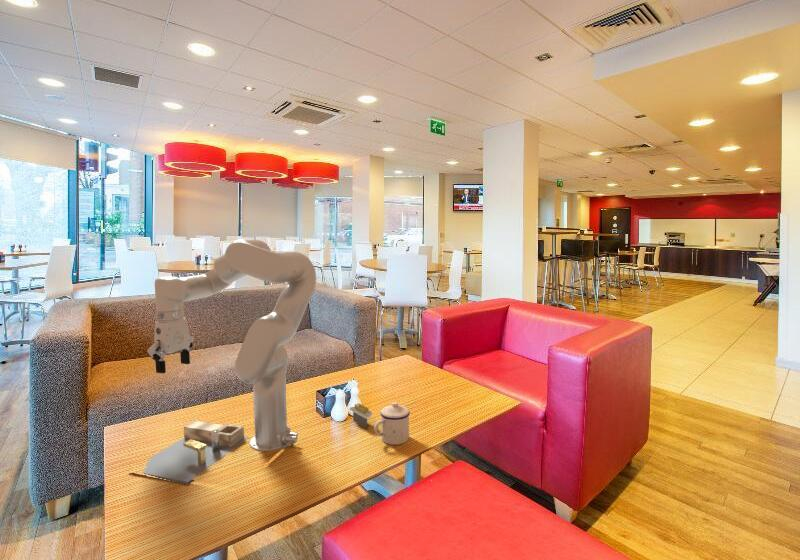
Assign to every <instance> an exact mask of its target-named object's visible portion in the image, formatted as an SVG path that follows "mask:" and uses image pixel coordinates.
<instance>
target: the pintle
mask: <svg viewBox="0 0 800 560" xmlns="http://www.w3.org/2000/svg"><path fill="white" fill-rule="evenodd" d="M211 435H212V451H213V452H216V451H219V450H220V445H219V430H217V429H216V430H212V431H211Z"/></svg>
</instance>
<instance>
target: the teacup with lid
mask: <svg viewBox="0 0 800 560" xmlns="http://www.w3.org/2000/svg"><path fill="white" fill-rule="evenodd" d="M410 413H411V412H410V410H409V408H407V407H406V406H404V405H400V404H399V403H398V402H397V401H393V402H392V403H391V404H390V405H387V406H384V407H383V408H382V409H381V410H380V417H381V418H380V419H379V420H377V421H376V422H375V424H374V427H373V429H374V433H375V435H377V436H378V437H381V440H382V442H384V443H385V444H388V445H392V446H393V445H395V446H396V445H397V446H398V445H403V444H405V443H407V442H408V440H409V438H410ZM380 425H381V427H380V428H381V431H380V432H379V431H378V427H379V426H380Z"/></svg>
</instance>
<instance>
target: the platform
mask: <svg viewBox="0 0 800 560" xmlns="http://www.w3.org/2000/svg"><path fill="white" fill-rule="evenodd" d="M349 410H350V411H351V412H352V417H353V418H352V421H353V422H354V423H356V424H358V425H359V426H361V427H363V428H364V429H368V419H369V418H371V417H372V414H373V412H372V410H371V411H370V410H369V407H367V406H365V405H363V404H362V403H359V402H358V403H355V404H354V406H351V407H349Z"/></svg>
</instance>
